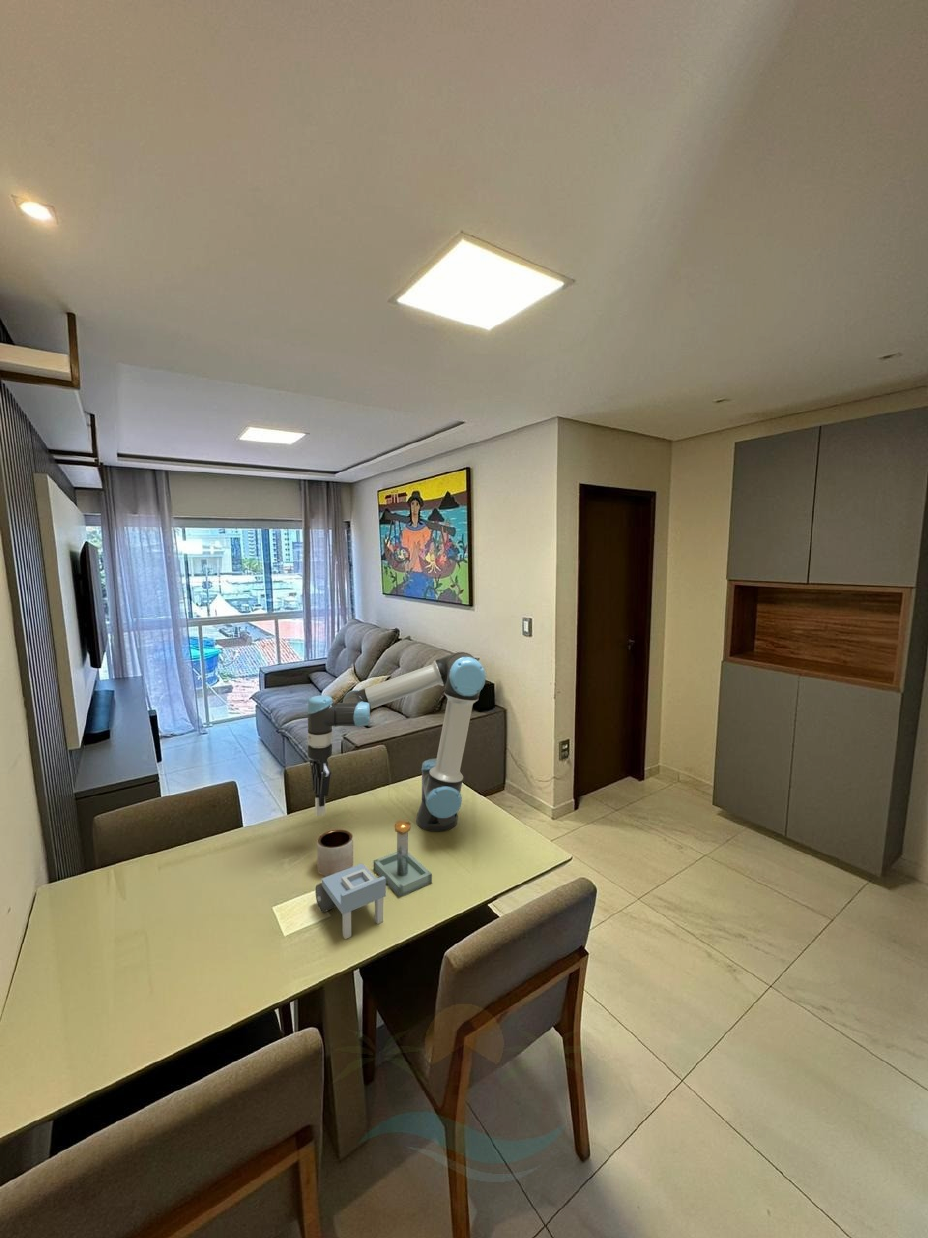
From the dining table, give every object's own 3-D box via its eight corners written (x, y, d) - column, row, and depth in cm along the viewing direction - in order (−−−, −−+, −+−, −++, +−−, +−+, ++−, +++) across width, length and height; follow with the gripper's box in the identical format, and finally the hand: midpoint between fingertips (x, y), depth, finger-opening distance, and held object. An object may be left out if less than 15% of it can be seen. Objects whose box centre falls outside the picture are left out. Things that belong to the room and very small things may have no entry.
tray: (373, 869, 152) (373, 860, 152) (404, 857, 159) (404, 848, 158) (399, 897, 139) (399, 887, 139) (431, 883, 146) (431, 873, 146)
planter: (358, 858, 158) (357, 830, 157) (346, 879, 147) (346, 849, 146) (325, 856, 159) (324, 828, 158) (311, 877, 148) (311, 847, 147)
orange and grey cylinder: (392, 872, 150) (392, 823, 148) (405, 866, 152) (405, 818, 151) (399, 879, 146) (399, 829, 144) (412, 874, 149) (413, 825, 147)
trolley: (313, 904, 136) (313, 863, 135) (360, 885, 145) (360, 846, 143) (339, 942, 122) (338, 897, 121) (389, 919, 131) (389, 877, 130)
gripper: (301, 740, 161) (302, 809, 164) (316, 753, 151) (316, 826, 153) (323, 736, 166) (323, 803, 168) (339, 748, 156) (339, 819, 158)
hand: (320, 814), depth 161 cm, fingers closed
